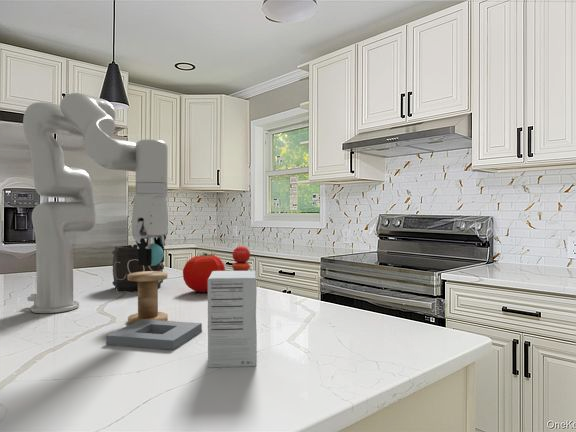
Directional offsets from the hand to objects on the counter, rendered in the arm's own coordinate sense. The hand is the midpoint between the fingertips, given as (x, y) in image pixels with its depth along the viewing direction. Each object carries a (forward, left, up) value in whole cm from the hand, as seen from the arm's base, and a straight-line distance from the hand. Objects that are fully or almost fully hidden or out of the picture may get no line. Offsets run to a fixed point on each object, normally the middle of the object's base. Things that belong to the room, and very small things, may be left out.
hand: (151, 263), depth 107 cm
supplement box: (+27, -16, -16) cm, 36 cm away
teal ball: (0, 0, -1) cm, 1 cm away
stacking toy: (+15, +22, -16) cm, 31 cm away
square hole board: (+5, -7, -16) cm, 18 cm away
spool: (-5, +6, -16) cm, 18 cm away
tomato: (-7, +46, -16) cm, 49 cm away
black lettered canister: (-34, +48, -16) cm, 61 cm away
